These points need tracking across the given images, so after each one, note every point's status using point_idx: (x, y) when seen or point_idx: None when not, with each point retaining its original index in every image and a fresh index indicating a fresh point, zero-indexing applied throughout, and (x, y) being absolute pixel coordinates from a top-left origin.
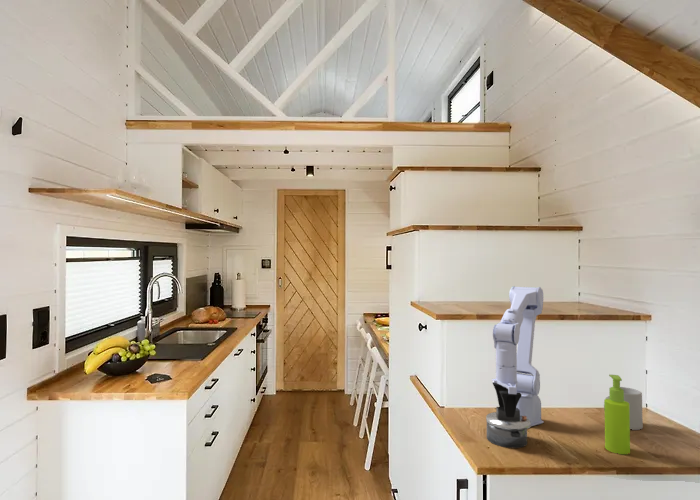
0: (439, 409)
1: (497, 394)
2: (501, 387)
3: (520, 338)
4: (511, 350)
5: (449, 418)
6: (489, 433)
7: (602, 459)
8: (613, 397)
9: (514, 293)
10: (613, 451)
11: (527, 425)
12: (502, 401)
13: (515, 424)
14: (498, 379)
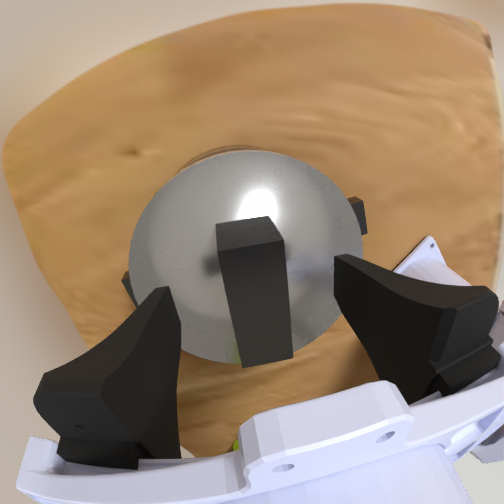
0: (471, 26)
1: (385, 287)
2: (412, 358)
3: None
4: None
5: (412, 27)
6: (194, 160)
7: (189, 425)
8: None
9: None
10: (236, 441)
11: (188, 352)
12: (353, 293)
13: (176, 308)
14: None
